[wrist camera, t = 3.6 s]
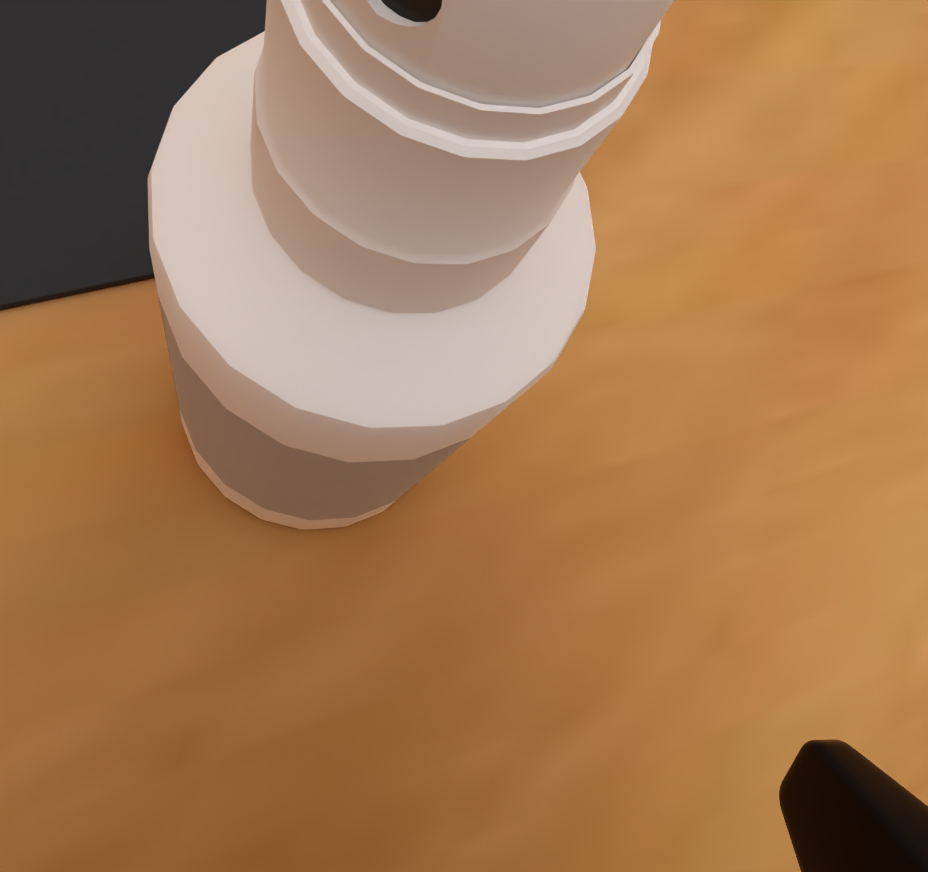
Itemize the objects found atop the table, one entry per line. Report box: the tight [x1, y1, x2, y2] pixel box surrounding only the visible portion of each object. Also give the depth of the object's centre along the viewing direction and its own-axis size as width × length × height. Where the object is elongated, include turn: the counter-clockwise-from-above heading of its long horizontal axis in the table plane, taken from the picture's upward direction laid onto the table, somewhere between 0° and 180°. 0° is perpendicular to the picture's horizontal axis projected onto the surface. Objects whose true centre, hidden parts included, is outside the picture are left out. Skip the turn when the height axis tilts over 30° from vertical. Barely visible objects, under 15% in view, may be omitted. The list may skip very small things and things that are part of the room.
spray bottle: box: [148, 0, 674, 530], centre depth 15 cm, size 7×7×18 cm
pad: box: [0, 0, 267, 310], centre depth 24 cm, size 20×12×1 cm, turn 110°
